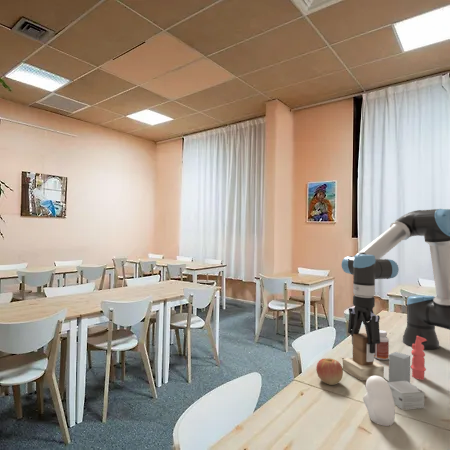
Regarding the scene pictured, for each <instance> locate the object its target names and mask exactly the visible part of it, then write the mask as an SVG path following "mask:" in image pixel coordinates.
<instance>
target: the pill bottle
mask: <svg viewBox="0 0 450 450" xmlns="http://www.w3.org/2000/svg"><path fill="white" fill-rule="evenodd" d="M379 332H380V343H379V344H375V353H374V359H377V360H381V361H386V360H389V354H390V351H389V347H390V346H389V342H390V339H389V338H388V336H387V335H388V332H387V331H386V330H381V329H379Z"/></svg>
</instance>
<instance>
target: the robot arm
mask: <svg viewBox="0 0 450 450" xmlns="http://www.w3.org/2000/svg"><path fill="white" fill-rule="evenodd" d="M415 236H416V237H417V236H418V237H419V236H421V237H424V238H423V239H424V242H425V243H426V244H427V245H429V251H430V258H431V265H432V270H433V271H432V273H433V274H432V275H433V280H434V287H435V295H436V296H434V295H410V296H408V297H407V302H406V327H405V330H404V331H403V335H402V342H403V344H405V345H408V346H410V347H412V344H415V341H416V338H417V337H416V336H420V337H422V338H425V339H426V340H427V341H424V342H422V343H421V344H422V345H424V350H437V349H439V348H440V341H439V339H438V335H437V332H436V327H437V328H441V329H445V330H449V331H450V209H449V208H434V209H418V210H413V211H411V212H408V213H406V214H404V215H402V216H400V217H399V218H396V219H395V220H394V221H393V222H392V223H391V224H390V226H389V228H388V229H386V230H385V231H384V232H383V233H381V234H379V236H378V237H377V238H375V239H374V240H373V241H371V242H370V243H369V244H368V245H366V246H364V248H362V249H361V250H359V252H358V253H356V254H355V255H353V256H352V255H349V256H344V257H343V259H342V261H341V269H342V271H343V272H344V273H346V274H350V275H352V276H353V277H352V278H353V281H352V282H353V284H352V285H353V286H352V287H353V289H352V293H353V295H352V306H354V307H350V308H348V314H349V316H348V327H347V333H348V334H350V336H351V344H352V345H351V346H353V334H358V333H360V330H361V327H362V324H363V325H364V328H365V332H366V333H365V334H367V338H368V343H367V354H366V361H367V362H373V361H374V362H375V358H374V353H375V344H379V343H380V332H379V330H380V317H381V316H380V315H376V314H375V312H374V308H375V304H376V301H375V299H376V298H375V296H376V287H375V286H376V280H389V279H394V278H396V277H397V276H398V273H399V268H400V267H399V265H398V263H397V262H396V261H395V260H394V259H388V258H384V259H382V257H384V256H385V255H386V254H387V253H388V252H390V251H391V250H392V249H394V248H395V247H396V246H397V245H398V244H400V243H401V242H402V241H407V240H408V239H409V238H411V237H415ZM371 340H372V341H371Z"/></svg>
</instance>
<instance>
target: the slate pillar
mask: <svg viewBox="0 0 450 450" xmlns="http://www.w3.org/2000/svg"><path fill="white" fill-rule="evenodd" d="M396 381H408V382H409V383H411V355H409V354H405V353H402V352H398V351H393V352H391V353H389V358H388V382H396Z"/></svg>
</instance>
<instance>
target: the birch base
mask: <svg viewBox="0 0 450 450" xmlns="http://www.w3.org/2000/svg"><path fill="white" fill-rule="evenodd" d="M342 368H343V372H346V373H348V374H349V375H351V376H353V377H355V378H356V379H358V380H359V381H367V379H368V378H369V377H371V376H380V377H382V378H385V376H384V375H385V371H384V370H385V366H384V365H382V364H380V363H379V362H376V361H375V360H374V361H373V364H372V365H364V366H362V365H360V364H358V363H356V362H354V361H353V357H346V358H342Z"/></svg>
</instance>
